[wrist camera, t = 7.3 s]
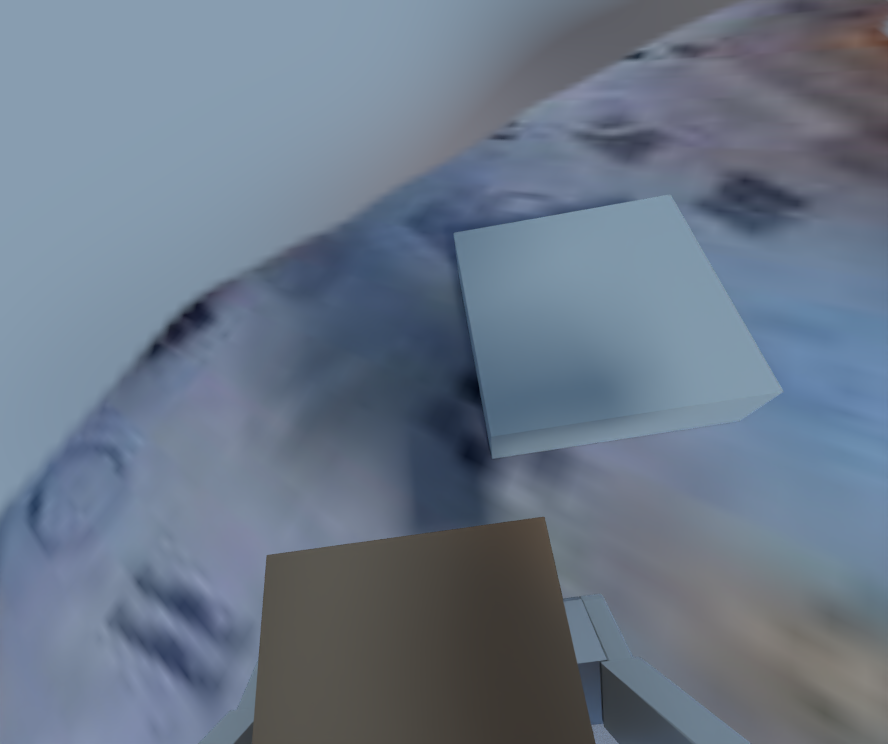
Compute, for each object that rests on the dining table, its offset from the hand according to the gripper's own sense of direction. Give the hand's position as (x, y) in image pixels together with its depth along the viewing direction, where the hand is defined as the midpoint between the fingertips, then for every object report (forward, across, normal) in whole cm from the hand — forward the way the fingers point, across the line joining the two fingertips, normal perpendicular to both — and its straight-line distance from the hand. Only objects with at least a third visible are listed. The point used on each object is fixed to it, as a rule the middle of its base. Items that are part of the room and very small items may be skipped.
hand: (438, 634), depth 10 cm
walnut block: (+4, 0, +5) cm, 6 cm away
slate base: (+18, -10, -2) cm, 21 cm away
